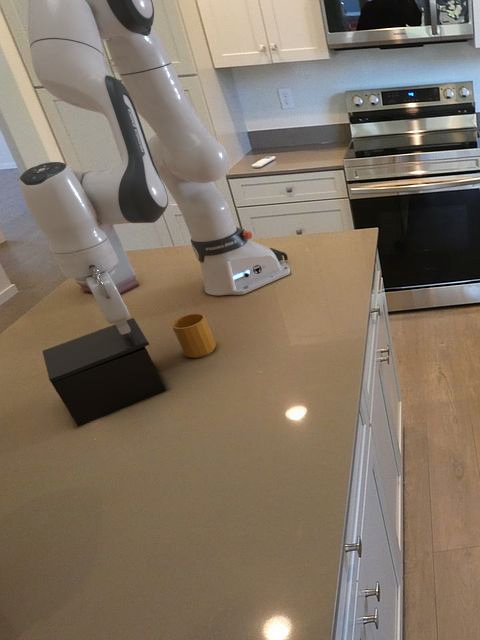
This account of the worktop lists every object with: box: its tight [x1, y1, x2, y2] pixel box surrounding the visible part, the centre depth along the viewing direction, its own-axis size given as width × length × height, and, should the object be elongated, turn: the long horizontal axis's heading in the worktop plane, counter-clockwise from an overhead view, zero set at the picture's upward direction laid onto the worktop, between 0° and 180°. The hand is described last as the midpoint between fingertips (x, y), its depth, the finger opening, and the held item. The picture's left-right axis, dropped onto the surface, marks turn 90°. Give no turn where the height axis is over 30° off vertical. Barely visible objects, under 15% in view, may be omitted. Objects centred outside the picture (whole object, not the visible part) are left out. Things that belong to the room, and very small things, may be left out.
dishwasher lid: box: [42, 317, 150, 384], centre depth 107 cm, size 16×14×5 cm
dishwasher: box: [51, 346, 167, 427], centre depth 110 cm, size 16×14×10 cm
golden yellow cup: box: [171, 312, 217, 359], centre depth 122 cm, size 6×6×8 cm
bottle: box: [74, 225, 140, 295], centre depth 151 cm, size 14×10×30 cm
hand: (122, 326), depth 109 cm, fingers closed on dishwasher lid, 5 cm apart
